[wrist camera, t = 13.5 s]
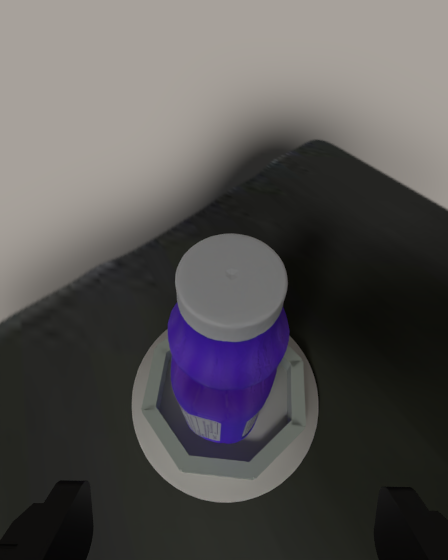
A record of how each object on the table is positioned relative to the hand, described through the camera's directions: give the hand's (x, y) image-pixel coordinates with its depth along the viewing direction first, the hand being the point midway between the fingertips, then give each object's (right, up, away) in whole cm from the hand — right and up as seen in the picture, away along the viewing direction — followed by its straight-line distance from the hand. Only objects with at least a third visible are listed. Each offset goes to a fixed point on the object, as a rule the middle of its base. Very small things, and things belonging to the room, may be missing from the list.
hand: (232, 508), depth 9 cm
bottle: (0, -3, +17) cm, 18 cm away
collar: (0, -3, +18) cm, 18 cm away
